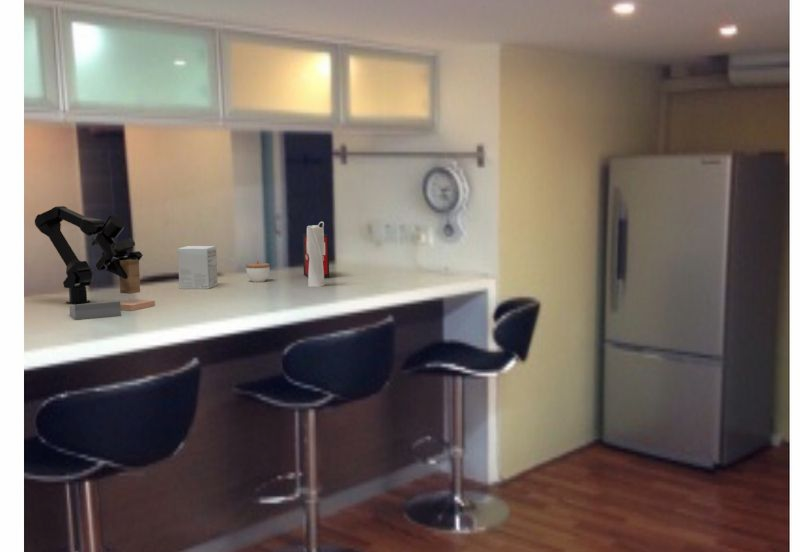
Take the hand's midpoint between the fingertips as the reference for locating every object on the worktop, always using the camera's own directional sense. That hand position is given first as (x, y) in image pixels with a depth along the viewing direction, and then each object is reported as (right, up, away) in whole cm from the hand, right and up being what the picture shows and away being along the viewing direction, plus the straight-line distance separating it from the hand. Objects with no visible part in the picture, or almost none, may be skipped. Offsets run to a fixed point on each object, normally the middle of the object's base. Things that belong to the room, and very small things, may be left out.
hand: (132, 277), depth 306 cm
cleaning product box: (+59, 0, +87) cm, 106 cm away
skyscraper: (+63, -4, +54) cm, 83 cm away
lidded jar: (+34, -2, +73) cm, 80 cm away
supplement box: (+11, -5, +56) cm, 57 cm away
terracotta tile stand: (-1, -11, +2) cm, 11 cm away
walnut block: (-1, -6, +1) cm, 6 cm away
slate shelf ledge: (-8, -13, -15) cm, 21 cm away
